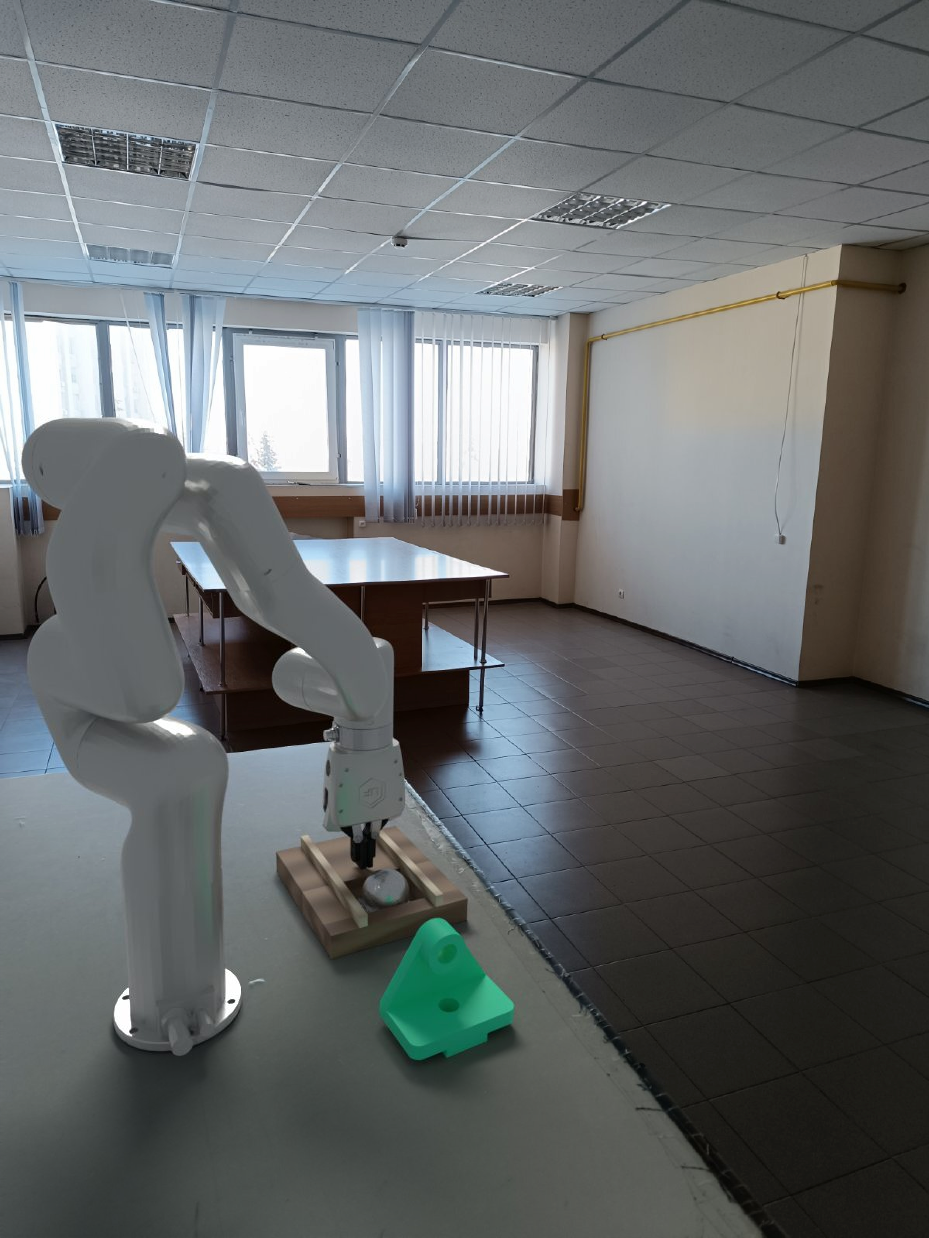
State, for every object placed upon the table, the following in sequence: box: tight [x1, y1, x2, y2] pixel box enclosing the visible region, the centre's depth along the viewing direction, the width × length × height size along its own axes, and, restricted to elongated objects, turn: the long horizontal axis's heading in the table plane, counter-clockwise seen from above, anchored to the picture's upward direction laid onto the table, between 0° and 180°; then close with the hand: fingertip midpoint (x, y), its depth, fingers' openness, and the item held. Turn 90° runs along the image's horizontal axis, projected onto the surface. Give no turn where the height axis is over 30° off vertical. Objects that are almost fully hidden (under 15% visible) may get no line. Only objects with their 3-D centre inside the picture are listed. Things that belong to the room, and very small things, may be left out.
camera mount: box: [379, 918, 515, 1061], centre depth 83 cm, size 12×8×10 cm, turn 121°
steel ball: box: [361, 868, 410, 913], centre depth 102 cm, size 6×6×6 cm
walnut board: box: [275, 825, 469, 960], centre depth 107 cm, size 22×18×4 cm
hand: (362, 863), depth 108 cm, fingers closed
